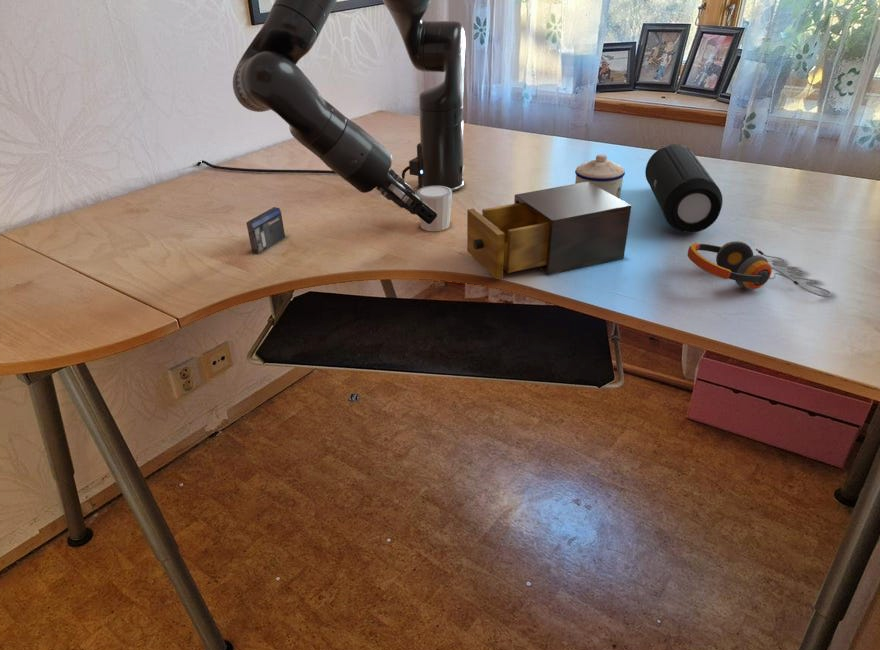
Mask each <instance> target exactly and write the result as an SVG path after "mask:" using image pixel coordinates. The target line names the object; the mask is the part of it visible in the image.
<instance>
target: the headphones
mask: <svg viewBox="0 0 880 650" xmlns="http://www.w3.org/2000/svg"><path fill="white" fill-rule="evenodd" d="M699 251H705V252H710V253H714V254H716V255H715V256H716V257H715V263H714V262H712V261H710V260H708V259H706V258H705V257H704V256H702V255H701V254H700V253H699ZM755 251H756V252H757V253H758V254H755V255H754V252H753V249H752V248H751V247H750V245H748V244H747V243H746V242H743V241H739V240H735V241H730V242H726V243H724V244H723V245H722V246H719V245H714V244H709V243H698V242H693V243H692V244H691V245H690V246H689V247H688V249H687V257H688V259H689V260H690V261H691V262H692V263H693V264H694V265H696V267H698V268H700V269H701V270H702V271H705V272H707V273H708V274H711V275H713V276H715V277H717V278H721V279H724V280H732V281H735V283H736V285H738V287H741V288H742V289H750V290H757V289H759V288H762V286H764V285H766V283H767V282H768V281H769V280H774V279H775V278H776V276H777V275H779V276H782V277H783V278H786V279H788V280H789V281H792V283H793V284H794V285H796V286H798V287H800V288H801V289H803V290H804V291H805V292H808V293H810V294H812V295H815V296H818V297H822V298H823V297H824V298H830V297H832V296H833V295H832V293H831V291H829V290H828V289H825V288H822V287H820V286H817V285H814V284H819V283H820V282H819V280H816V279H811V278H806V277H805V278H803V277H804V276H803V274H805V271H804V270H801V269H799V267H796V266H791V265H789V264H788V263H787V262H786V260H785V259H783V258H782V257H779V256H778V257H777V256H774V255H773V256H772V255H767V254H765V253H764V252H763V251H762V250H759V249H758V248H755ZM767 258H772V260H771V264H770V263H769V261H768V259H767ZM775 259H776V260H775ZM771 265H773V266H776V267H782V268H786V269H787V273H789V275H787V274H786V273H784V272H782V271H781V270H780V269H777V268H775V267H772V266H771ZM773 270H774V271H776V272H774V273H773V276H772V272H773ZM771 276H772V277H771ZM794 279H798V280H803V281H805V282H804V283H805V284H806V285H807V286H809V287H813V288H815V289H818V290H821V291H824V292H827V293H828V295H827V294H826V295H825V294H820V293H817V292H814V291H811V290H809V289H808V288H806V287H804V286H803V285H801V284H800V283H799V282H798V281H797V280H794ZM813 283H814V284H813Z"/></svg>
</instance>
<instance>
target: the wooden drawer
mask: <svg viewBox="0 0 880 650" xmlns="http://www.w3.org/2000/svg"><path fill="white" fill-rule="evenodd" d="M466 212H467V214H466V215H467V216H466V217H467V219H466V220H467V222H466V223H467V227H466V228H467V230H466V231H467V232H466V235H467V237H466V238H467V239H466V240H467V241H466V249H467V250H466V251H467V253H468V254H469V255H470V256H472V257H473V258H474V259H475V261H477V262H478V263H479V264H480V265H481V266H482V267H483V268H484V269H485V270H486V271H487V272H488V273H490V275H491V276H492V277H493V278H495V279H496V280H499V279H503V278H504V271H506V273H508V274H510V273H514V272H519V271H524V270H528V269H533V268H539V266H543V265H547V252H548V240H549V227H550V223H548V222H547V221H546V220H544V219H543V218H541V217H540V216H538V215H537V214H536V213H534V212H533V211H531V210H530V209H528V208H527V207H526V206H524V205H523V204H521V203H516V204H514V203H510V204H505V205H500V206H496V207H488V208H484V209H482V212H481V213H480V212H478V211H477V210H476V209H475V208H468V209H467V210H466Z"/></svg>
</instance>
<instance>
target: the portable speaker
mask: <svg viewBox="0 0 880 650" xmlns="http://www.w3.org/2000/svg"><path fill="white" fill-rule="evenodd" d="M644 174H645V179H646V182H647V183H648V185H649V187H650V189H651V191H652V194H653V195H654V197H655V199H656V202H657V203H658V205H659V208H660V209H661V211H662V214H663V216H664V219H665V221H666V222H667V224H668V225H669V226H670V227H672V228H673V229H674V230H677V231H679V232H683V233H698V232H702V231H704V230H706V229H708V228H710V227H711V226H712V225H713V224H714V223H715V222H716V221H717V220H718V218H719V216H720V214H721V210H722V208H723V200H724V199H723V195H722V191H721V189H720V187H719V186H718V185H717V184H716V182H715V180H713V178H712V177H711V175H710V174H709V173H708V171H707V169H705V167H704V166H703V164H702V163H701V161H700V160H699V159H698V157H697V156H696V154H694V152H693V151H692V150H691V149H690V148H688V146H685V145H681V144H669V145H664V146H663V147H661V148H658V149H657V150H656V151H655V152H654V153H653V154H652V155H651V156H650V157H649V159H648V162H647V163H646V165H645V171H644Z"/></svg>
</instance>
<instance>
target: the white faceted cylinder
mask: <svg viewBox="0 0 880 650" xmlns="http://www.w3.org/2000/svg"><path fill="white" fill-rule="evenodd" d="M416 194H417V195H418V197H419V198H421V199H422V200H423V202H424V203H425V204H426V205H427V206H429V207H430V208H431V209H432V210H433V211H435V212H436V213H437V217H436V218H435V219H434V221H433V222H432V223H431V224H427V223H426V222H425V221H424V220H422V219H421V218H420V217H419V222H420V228H421V229H422V230H424V231H427V232H441V231H445V230H447V229H448V228H449V227H450V224H451V223H450V222H451V213H452V212H451V211H452V198H453V192H452V190H451V189H450V188H448V187H445V186H428V187H424V188H419V189H418V190H416Z"/></svg>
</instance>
